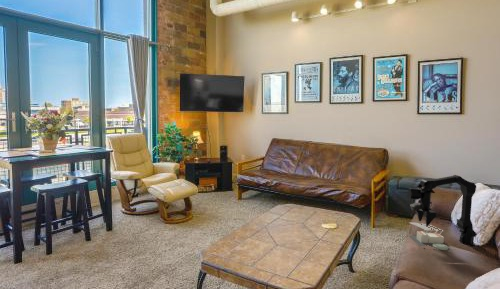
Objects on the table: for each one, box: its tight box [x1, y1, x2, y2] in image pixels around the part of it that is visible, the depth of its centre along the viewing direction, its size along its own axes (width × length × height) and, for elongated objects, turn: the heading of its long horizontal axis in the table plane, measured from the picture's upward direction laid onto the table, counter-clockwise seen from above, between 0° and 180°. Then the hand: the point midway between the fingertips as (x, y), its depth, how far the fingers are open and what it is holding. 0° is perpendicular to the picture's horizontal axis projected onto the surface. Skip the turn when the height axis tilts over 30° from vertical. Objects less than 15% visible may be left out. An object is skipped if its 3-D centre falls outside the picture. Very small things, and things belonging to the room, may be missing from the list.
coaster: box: [432, 243, 450, 251], centre depth 195 cm, size 8×8×1 cm
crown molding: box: [409, 222, 444, 235], centre depth 225 cm, size 24×1×20 cm
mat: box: [408, 235, 453, 252], centre depth 201 cm, size 17×21×1 cm
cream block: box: [416, 230, 428, 243], centre depth 204 cm, size 4×6×5 cm, turn 178°
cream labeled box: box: [425, 232, 445, 244], centre depth 203 cm, size 9×6×4 cm, turn 88°
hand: (423, 223), depth 203 cm, fingers open, 9 cm apart
